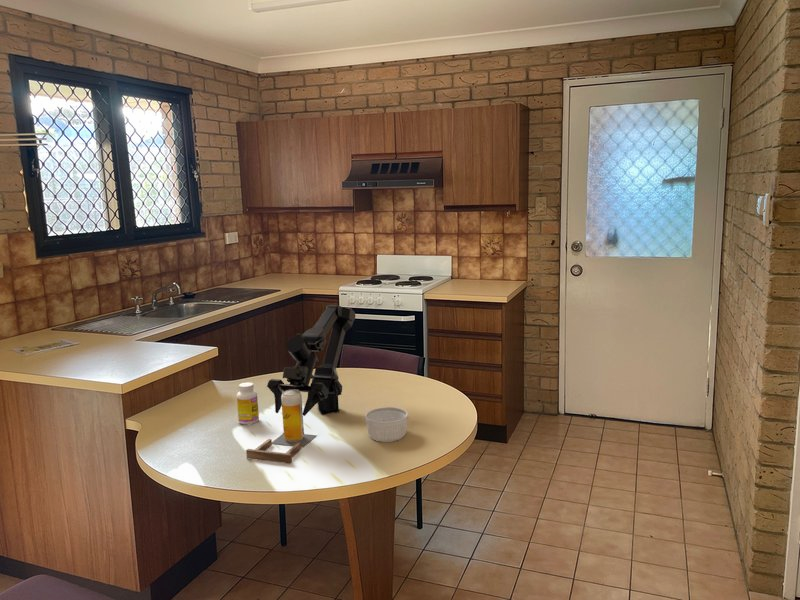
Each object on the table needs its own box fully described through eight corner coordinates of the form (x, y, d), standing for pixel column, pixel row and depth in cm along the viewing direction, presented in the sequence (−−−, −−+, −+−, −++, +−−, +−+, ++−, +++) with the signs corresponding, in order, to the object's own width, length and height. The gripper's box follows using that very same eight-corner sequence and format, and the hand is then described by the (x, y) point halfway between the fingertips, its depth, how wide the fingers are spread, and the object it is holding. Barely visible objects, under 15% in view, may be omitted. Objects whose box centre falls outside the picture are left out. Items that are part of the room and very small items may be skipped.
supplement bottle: (254, 425, 207) (251, 388, 205) (235, 424, 208) (232, 387, 206) (262, 418, 214) (259, 381, 211) (244, 417, 215) (241, 381, 213)
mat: (285, 432, 200) (285, 431, 200) (316, 435, 197) (316, 435, 197) (270, 443, 192) (270, 443, 192) (303, 447, 189) (303, 446, 189)
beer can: (285, 435, 197) (281, 389, 195) (304, 434, 198) (301, 388, 195) (283, 443, 191) (279, 396, 189) (303, 442, 192) (300, 394, 189)
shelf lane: (264, 444, 192) (264, 436, 191) (306, 449, 187) (305, 441, 187) (246, 458, 182) (246, 450, 182) (290, 463, 178) (289, 455, 177)
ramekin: (376, 447, 187) (376, 425, 186) (358, 432, 198) (357, 411, 197) (416, 438, 193) (415, 416, 192) (396, 424, 204) (395, 403, 203)
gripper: (267, 354, 196) (251, 399, 188) (322, 357, 190) (308, 404, 182) (281, 371, 205) (266, 415, 197) (334, 374, 199) (321, 420, 191)
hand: (289, 414), depth 192 cm, fingers open, 9 cm apart
